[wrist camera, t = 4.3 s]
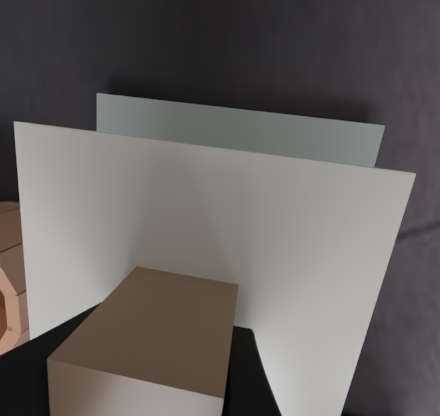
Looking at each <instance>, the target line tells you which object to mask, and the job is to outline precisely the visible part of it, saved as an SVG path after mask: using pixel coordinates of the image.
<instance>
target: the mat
mask: <svg viewBox="0 0 440 416" xmlns="http://www.w3.org/2000/svg"><path fill="white" fill-rule="evenodd" d="M384 128H385V125H377V124H368V123H359V122H350V121H341V120H332V119H323V118H315V117H306V116H297V115H288V114H279V113H270V112H261V111H252V110H243V109H234V108H226V107H217V106H208V105H199V104H190V103H181V102H172V101H163V100H154V99H145V98H137V97H128V96H119V95H110V94H101V93H97V132H105V133H113V134H121V135H128V136H136V137H144V138H151V139H159V140H167V141H175V142H182V143H190V144H198V145H205V146H213V147H221V148H229V149H236V150H244V151H252V152H259V153H267V154H275V155H283V156H290V157H298V158H306V159H313V160H321V161H329V162H337V163H344V164H352V165H360V166H368V167H374V166H375V162H376V158H377V154H378V151H379V147H380V143H381V139H382V136H383V132H384Z"/></svg>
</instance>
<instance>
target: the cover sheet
mask: <svg viewBox="0 0 440 416" xmlns="http://www.w3.org/2000/svg"><path fill="white" fill-rule="evenodd" d="M14 132H15V146H16V159H17V172H18V185H19V199H20V212H21V225H22V238H23V252H24V265H25V278H26V292H27V305H28V318H29V331H30V340H32V339H34V338H36V337H38V336H39V335H41V334H43V333H45V332H47V331H49V330H51V329H53V328H54V327H56V326H58V325H60V324H62V323H64V322H66V321H67V320H69V319H71V318H73V317H75V316H76V315H78V314H80V313H82V312H84V311H86V310H87V309H89V308H91V307H93V306H95V305H97V304H99V303H101V302H102V303H101V304H100V305H99V306H98V307H97V308H96V309H95V310H94V311H93V312H92V313H91V314H90V315H89V316H88V317H87V318H86V319H85V320H84V321H83V322H82V323H81V324H80V325H79V326H78V327H77V328H76V330H75V331H74V332H73V333H72V334H71V335H70V336H69V337H68V338H67V339H66V340H65V341H64V342H63V343H62V344H61V345H60V346H59V347H58V348H57V349H56V350H55V351H54V352H53V353H52V354H51V355H50V356H49V357H48V358H47V369H48V386H49V404H50V416H221V415H222V408H223V402H224V395H225V387H226V379H227V372H228V364H229V356H230V348H231V340H232V332H233V325H234V326H239V327H244V328H250V329H252V331H253V332H254V335H255V340H256V344H257V348H258V351H259V355H260V358H261V361H262V364H263V367H264V370H265V373H266V376H267V379H268V382H269V384H270V387H271V389H272V392H273V395H274V397H275V400H276V402H277V405H278V407H279V410H280V412H281V415H282V416H341V413H342V409H343V406H344V403H345V400H346V397H347V393H348V390H349V387H350V384H351V381H352V378H353V374H354V371H355V368H356V365H357V362H358V358H359V355H360V352H361V349H362V346H363V342H364V339H365V336H366V333H367V330H368V326H369V323H370V320H371V317H372V314H373V310H374V307H375V304H376V301H377V298H378V294H379V291H380V288H381V285H382V282H383V278H384V275H385V272H386V269H387V266H388V262H389V259H390V256H391V253H392V250H393V246H394V243H395V240H396V237H397V234H398V230H399V227H400V224H401V221H402V218H403V214H404V211H405V208H406V205H407V202H408V198H409V195H410V192H411V189H412V186H413V182H414V179H415V176H416V173H411V172H405V171H398V170H391V169H383V168H375V167H368V166H360V165H352V164H344V163H337V162H329V161H321V160H313V159H306V158H298V157H290V156H283V155H275V154H267V153H259V152H252V151H244V150H236V149H229V148H221V147H213V146H205V145H198V144H190V143H182V142H175V141H167V140H159V139H151V138H144V137H136V136H128V135H121V134H113V133H105V132H97V131H90V130H82V129H74V128H67V127H59V126H51V125H43V124H36V123H27V122H16V121H14Z"/></svg>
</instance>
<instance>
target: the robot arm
mask: <svg viewBox="0 0 440 416" xmlns="http://www.w3.org/2000/svg"><path fill="white" fill-rule="evenodd" d="M101 303H102V302H101ZM101 303H99V304H97V305H95V306H93V307H91V308H89V309H87V310H86V311H84V312H82V313H80V314H78V315H76V316H75V317H73V318H71V319H69V320H67V321H66V322H64V323H62V324H60V325H58V326H56V327H54V328H53V329H51V330H49V331H47V332H45V333H43V334H41V335H39V336H38V337H36V338H34V339H32V340H30V341H28V342H26V343H24V344H22V345H20V346H18V347H16V348H14V349H12V350H10V351H8V352H6V353H4V354H2V355H0V416H50V404H49V386H48V369H47V358H48V357H49V356H50V355H51V354H52V353H53V352H54V351H55V350H56V349H57V348H58V347H59V346H60V345H61V344H62V343H63V342H64V341H65V340H66V339H67V338H68V337H69V336H70V335H71V334H72V333H73V332H74V331H75V330H76V328H77V327H78V326H79V325H80V324H81V323H82V322H83V321H84V320H85V319H86V318H87V317H88V316H89V315H90V314H91V313H92V312H93V311H94V310H95V309H96V308H97V307H98V306H99V305H100V304H101ZM221 416H282V415H281V412H280V410H279V407H278V405H277V402H276V400H275V397H274V395H273V392H272V389H271V387H270V384H269V382H268V379H267V376H266V373H265V370H264V367H263V364H262V361H261V358H260V355H259V351H258V348H257V344H256V340H255V335H254V332H253V331H252V329H250V328H244V327H239V326H234V325H233V332H232V340H231V348H230V356H229V364H228V372H227V379H226V387H225V395H224V402H223V408H222V415H221Z"/></svg>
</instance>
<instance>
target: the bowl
mask: <svg viewBox="0 0 440 416" xmlns="http://www.w3.org/2000/svg"><path fill="white" fill-rule="evenodd" d="M29 339H30V331H29V318H28V305H27V292H26V278H25V265H24V252H23V238H22V225H21V212H20V202H19V201H1V202H0V355H2V354H4V353H6V352H8V351H10V350H12V349H14V348H16V347H18V346H20V345H22V344H24V343H26V342H27V341H28V340H29Z"/></svg>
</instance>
